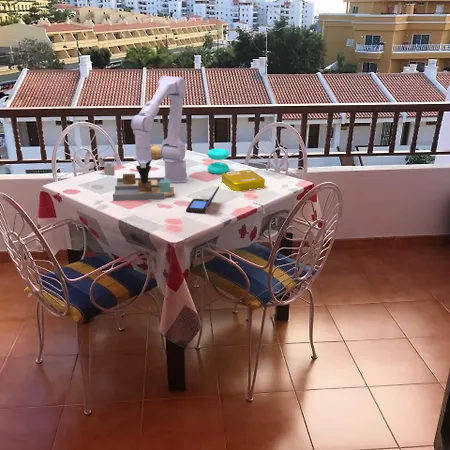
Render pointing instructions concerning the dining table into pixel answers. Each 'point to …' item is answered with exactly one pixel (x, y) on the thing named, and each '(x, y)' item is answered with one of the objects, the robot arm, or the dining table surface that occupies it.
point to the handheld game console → (200, 204)
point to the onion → (155, 151)
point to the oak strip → (153, 189)
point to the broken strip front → (129, 179)
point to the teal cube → (165, 185)
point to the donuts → (218, 166)
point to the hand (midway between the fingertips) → (145, 179)
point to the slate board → (136, 191)
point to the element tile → (243, 180)
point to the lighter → (107, 167)
